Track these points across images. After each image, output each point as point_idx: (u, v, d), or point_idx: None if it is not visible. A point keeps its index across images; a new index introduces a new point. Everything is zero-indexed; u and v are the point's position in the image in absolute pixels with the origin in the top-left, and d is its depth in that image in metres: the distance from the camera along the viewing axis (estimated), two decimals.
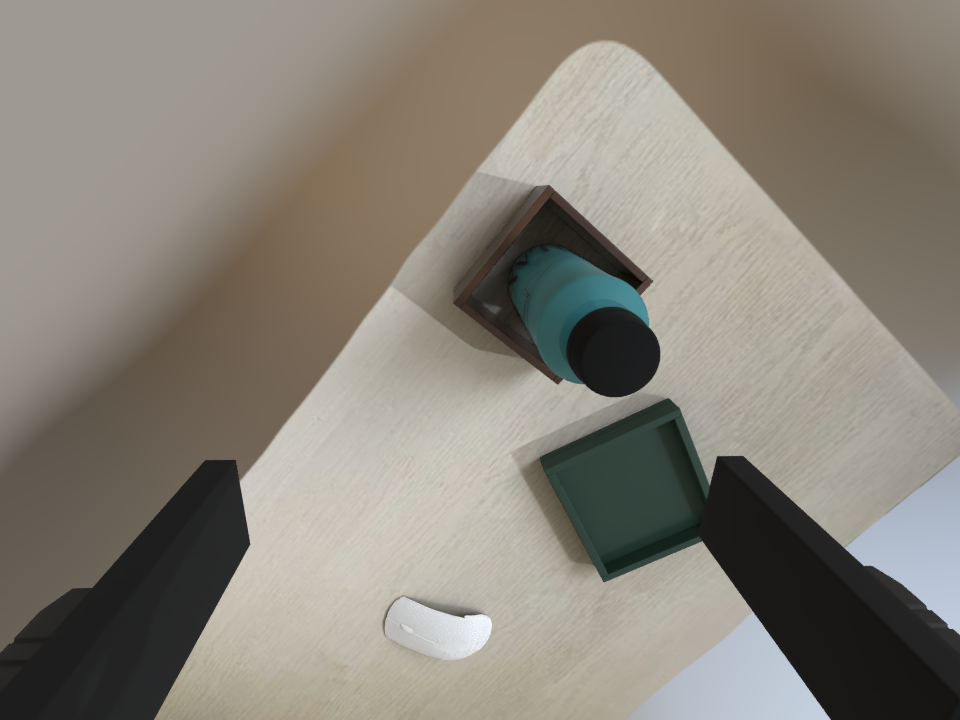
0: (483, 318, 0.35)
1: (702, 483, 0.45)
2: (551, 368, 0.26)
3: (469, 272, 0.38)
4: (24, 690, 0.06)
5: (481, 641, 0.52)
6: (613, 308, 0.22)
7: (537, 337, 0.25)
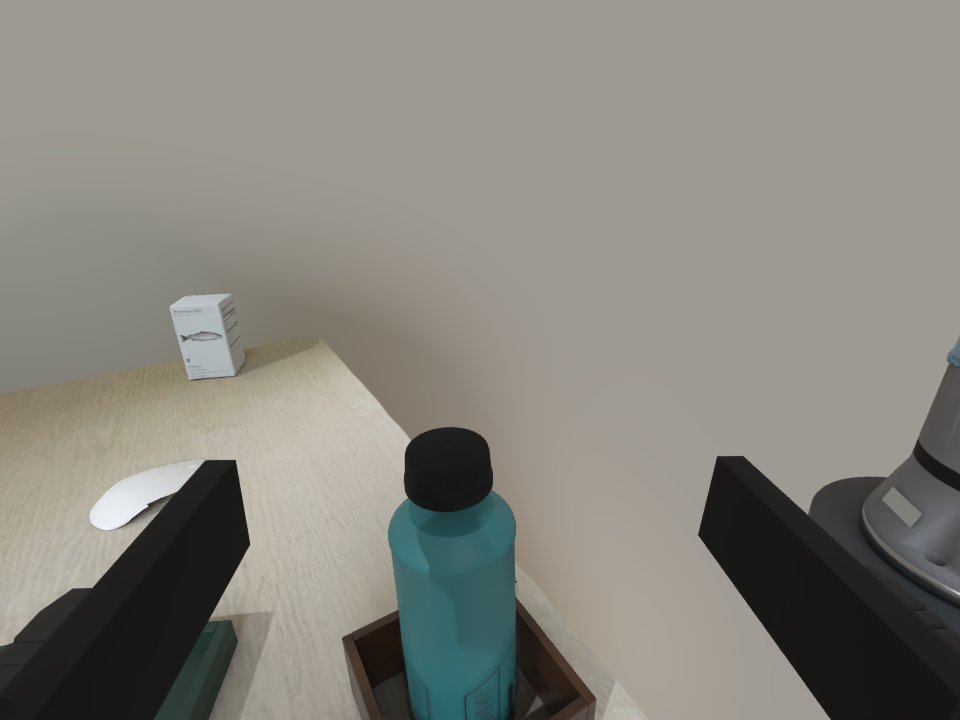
0: None
1: None
2: None
3: None
4: (24, 690, 0.06)
5: (100, 509, 0.46)
6: (490, 484, 0.21)
7: None
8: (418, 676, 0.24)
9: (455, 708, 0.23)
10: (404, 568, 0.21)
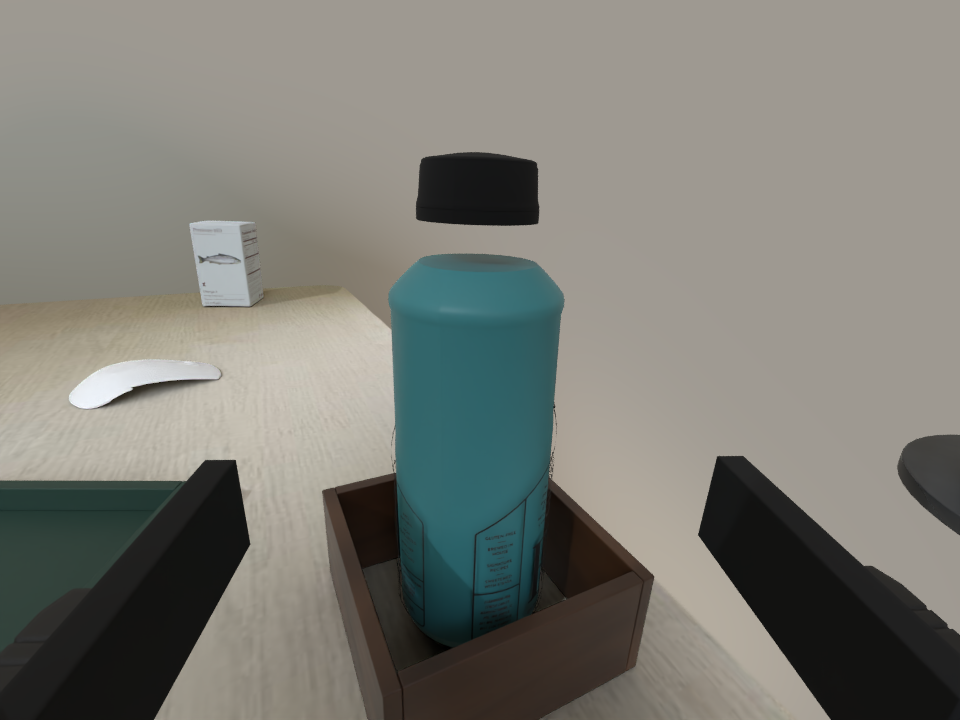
0: None
1: None
2: None
3: None
4: (24, 690, 0.06)
5: (81, 387, 0.41)
6: (536, 212, 0.15)
7: None
8: (413, 507, 0.17)
9: (460, 555, 0.17)
10: (406, 317, 0.15)
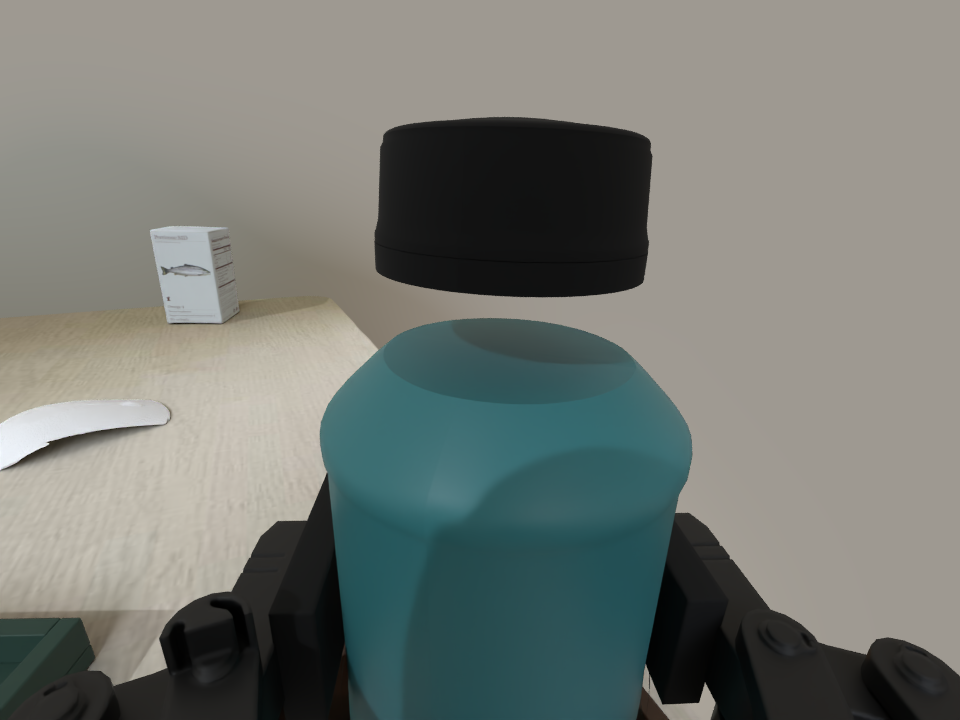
0: None
1: None
2: None
3: None
4: (300, 580, 0.08)
5: None
6: (646, 257, 0.07)
7: None
8: None
9: None
10: (349, 501, 0.06)
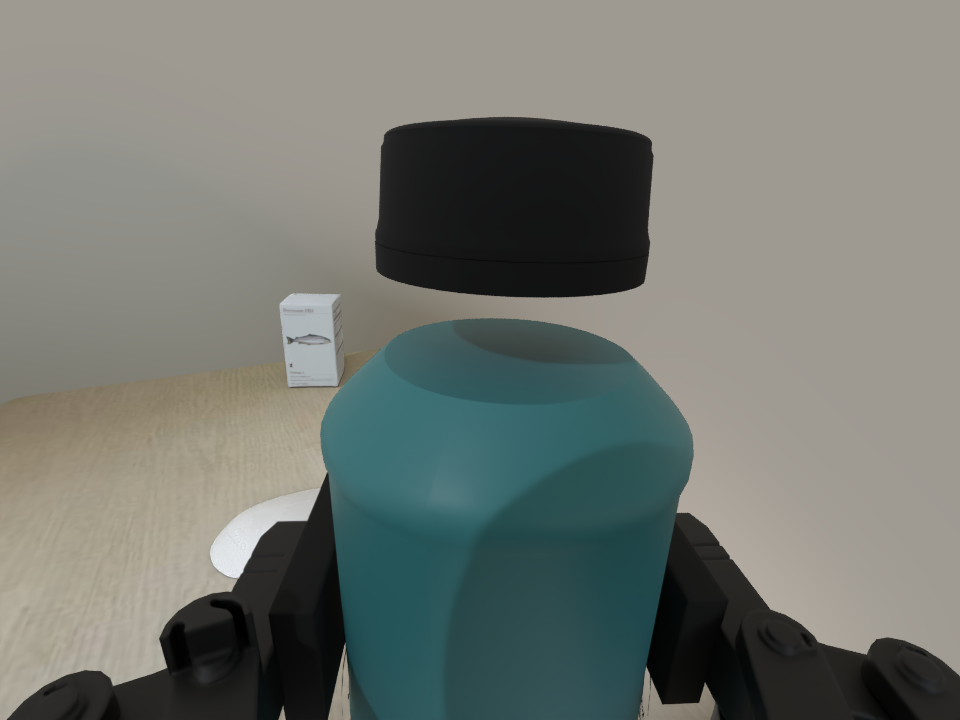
0: None
1: None
2: None
3: None
4: (300, 580, 0.08)
5: (226, 549, 0.36)
6: (647, 257, 0.07)
7: None
8: None
9: None
10: (350, 502, 0.06)
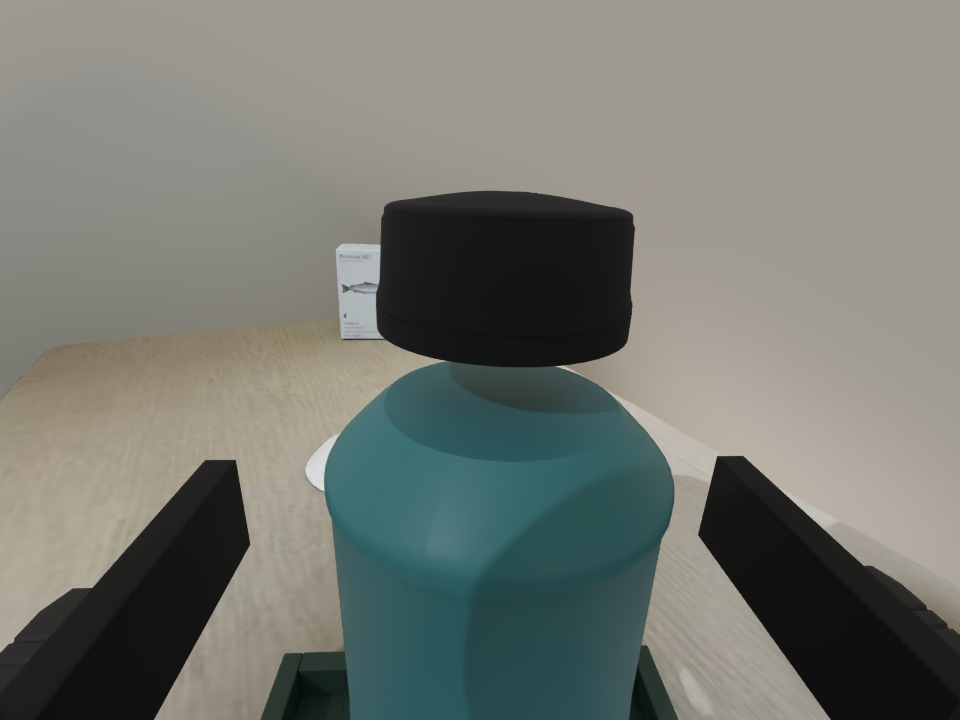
0: None
1: None
2: None
3: None
4: (24, 690, 0.06)
5: None
6: (629, 319, 0.07)
7: None
8: None
9: None
10: (352, 549, 0.07)
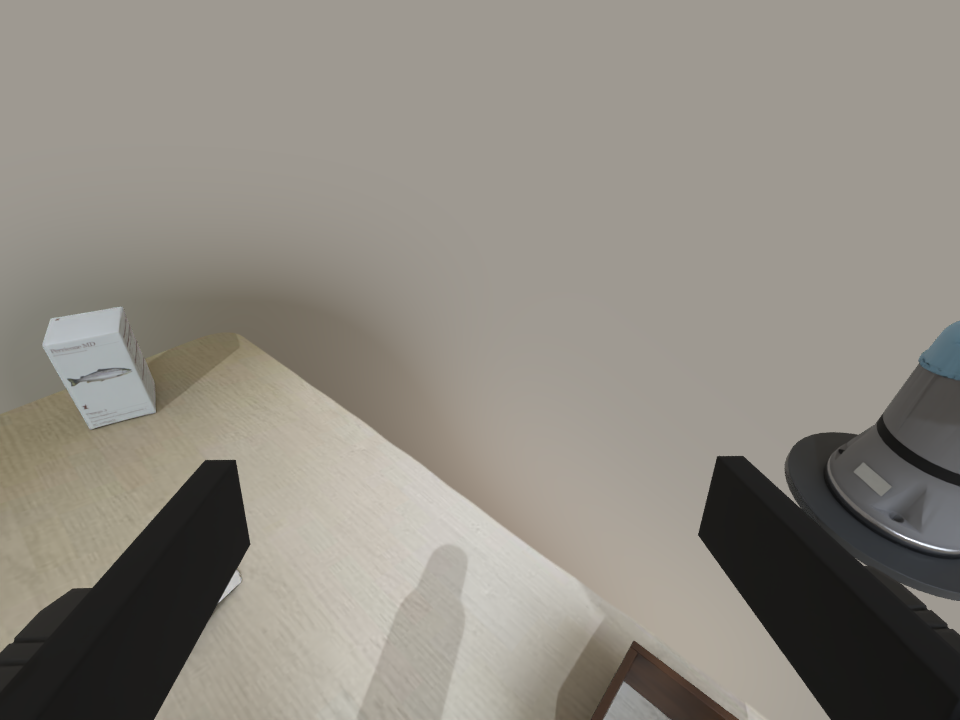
0: (625, 673, 0.33)
1: None
2: None
3: None
4: (24, 690, 0.06)
5: None
6: None
7: None
8: None
9: None
10: None
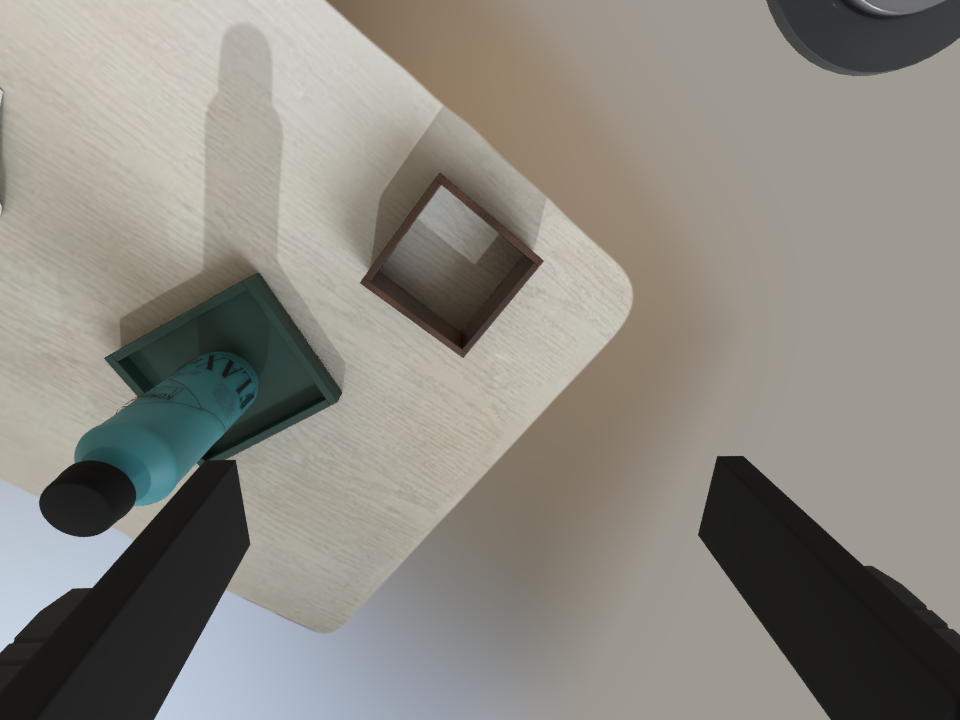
0: (425, 204, 0.36)
1: (257, 437, 0.45)
2: (82, 438, 0.29)
3: None
4: (24, 690, 0.06)
5: None
6: (131, 491, 0.27)
7: (109, 424, 0.29)
8: None
9: None
10: None
